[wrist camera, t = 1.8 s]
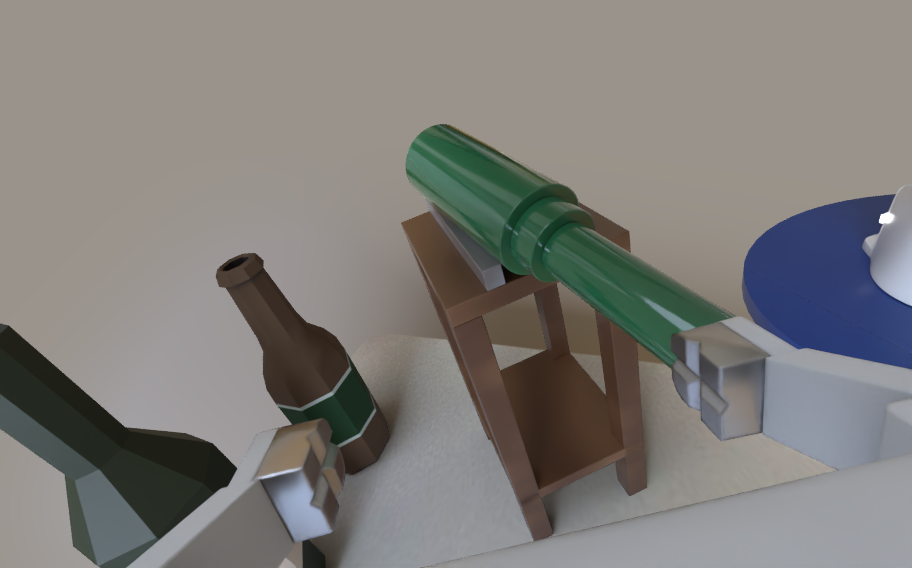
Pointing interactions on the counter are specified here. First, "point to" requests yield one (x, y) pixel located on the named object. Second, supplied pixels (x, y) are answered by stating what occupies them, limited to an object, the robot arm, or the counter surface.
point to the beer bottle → (306, 365)
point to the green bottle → (551, 237)
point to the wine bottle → (111, 462)
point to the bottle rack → (534, 371)
